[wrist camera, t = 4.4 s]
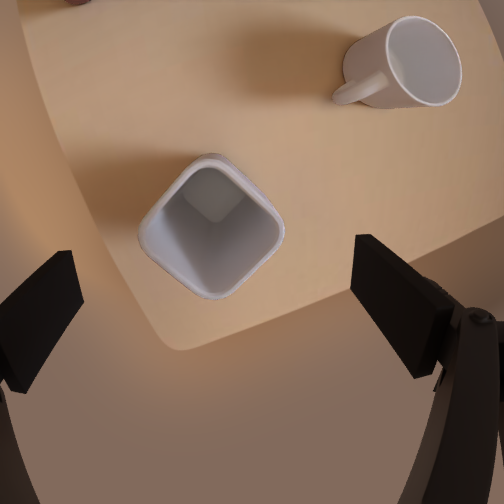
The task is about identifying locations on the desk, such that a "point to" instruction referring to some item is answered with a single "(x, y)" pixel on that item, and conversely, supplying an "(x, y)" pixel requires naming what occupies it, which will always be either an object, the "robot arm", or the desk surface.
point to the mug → (401, 67)
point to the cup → (211, 228)
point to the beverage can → (76, 1)
